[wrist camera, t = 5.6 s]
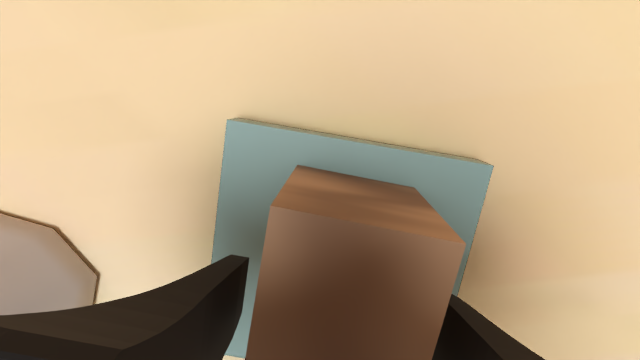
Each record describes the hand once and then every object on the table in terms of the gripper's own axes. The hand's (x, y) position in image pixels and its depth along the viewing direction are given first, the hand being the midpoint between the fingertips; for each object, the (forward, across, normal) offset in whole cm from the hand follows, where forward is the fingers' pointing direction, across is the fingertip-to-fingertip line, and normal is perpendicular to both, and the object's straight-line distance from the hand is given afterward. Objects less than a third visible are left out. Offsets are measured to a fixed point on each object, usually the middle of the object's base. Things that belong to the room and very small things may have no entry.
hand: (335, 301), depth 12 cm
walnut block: (+3, 0, -2) cm, 3 cm away
